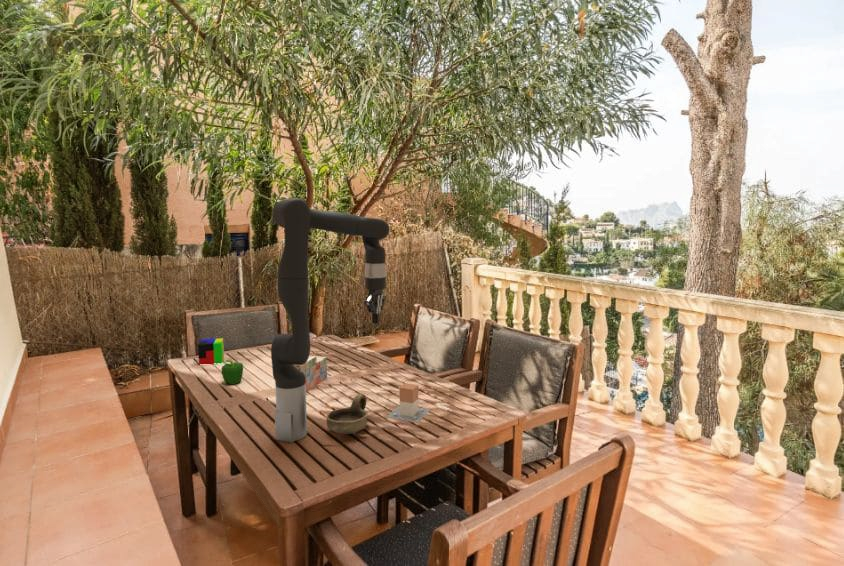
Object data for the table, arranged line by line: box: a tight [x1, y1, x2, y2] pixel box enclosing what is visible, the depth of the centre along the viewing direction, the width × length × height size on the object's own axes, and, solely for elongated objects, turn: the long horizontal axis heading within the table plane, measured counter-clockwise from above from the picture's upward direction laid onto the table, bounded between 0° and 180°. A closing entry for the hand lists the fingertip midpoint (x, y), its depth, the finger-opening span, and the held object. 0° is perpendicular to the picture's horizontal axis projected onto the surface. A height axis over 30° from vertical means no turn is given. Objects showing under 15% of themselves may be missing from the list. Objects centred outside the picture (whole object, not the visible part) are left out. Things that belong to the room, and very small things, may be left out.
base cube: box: [399, 398, 419, 417], centre depth 165 cm, size 5×5×5 cm
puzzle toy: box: [197, 337, 225, 365], centre depth 226 cm, size 10×10×10 cm
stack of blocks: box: [294, 355, 328, 392], centre depth 195 cm, size 21×6×12 cm, turn 164°
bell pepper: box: [221, 359, 244, 385], centre depth 197 cm, size 8×8×10 cm
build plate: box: [386, 404, 431, 424], centre depth 166 cm, size 12×12×2 cm
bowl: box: [325, 393, 369, 435], centre depth 154 cm, size 14×18×10 cm
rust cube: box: [399, 382, 419, 403], centre depth 165 cm, size 5×5×5 cm
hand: (375, 323), depth 168 cm, fingers closed
